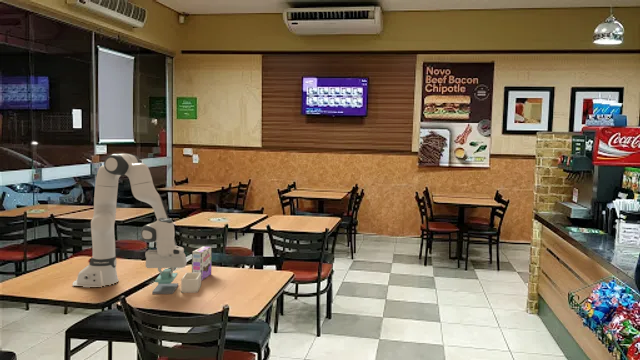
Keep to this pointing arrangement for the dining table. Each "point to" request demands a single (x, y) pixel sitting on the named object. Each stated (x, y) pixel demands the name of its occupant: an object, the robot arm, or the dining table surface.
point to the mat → (165, 288)
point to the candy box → (202, 261)
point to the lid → (166, 277)
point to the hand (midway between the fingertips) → (166, 275)
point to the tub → (191, 283)
